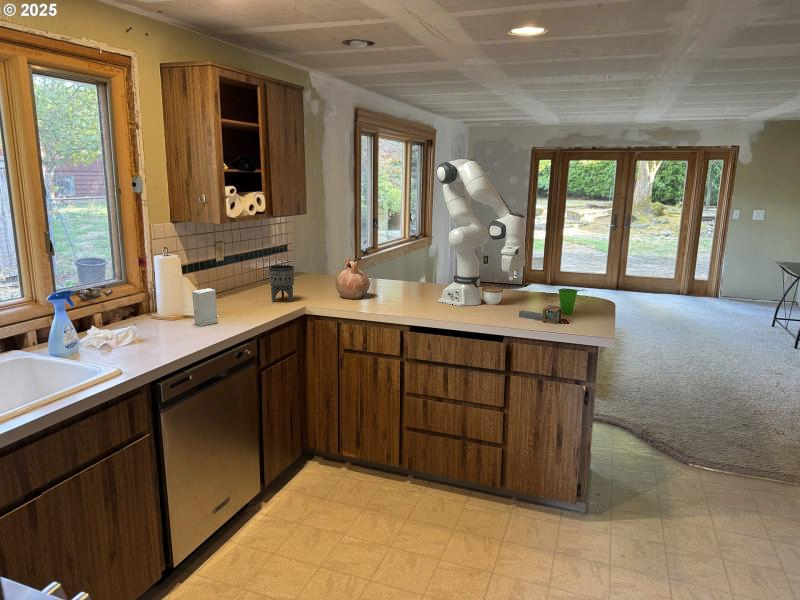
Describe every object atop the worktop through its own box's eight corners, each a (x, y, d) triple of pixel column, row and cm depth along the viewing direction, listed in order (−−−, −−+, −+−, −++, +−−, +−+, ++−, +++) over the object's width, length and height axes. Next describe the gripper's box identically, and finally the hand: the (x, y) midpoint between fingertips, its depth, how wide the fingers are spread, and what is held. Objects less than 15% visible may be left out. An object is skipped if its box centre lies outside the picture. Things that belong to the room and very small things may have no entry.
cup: (561, 310, 274) (562, 287, 272) (579, 312, 269) (581, 290, 266) (553, 313, 268) (554, 290, 265) (571, 316, 262) (573, 293, 260)
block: (547, 321, 252) (547, 312, 251) (549, 320, 255) (550, 310, 254) (555, 323, 250) (556, 313, 249) (558, 321, 253) (559, 311, 252)
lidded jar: (497, 306, 281) (498, 288, 279) (477, 304, 286) (478, 285, 284) (505, 302, 290) (506, 284, 288) (486, 300, 295) (487, 282, 293)
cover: (542, 322, 251) (543, 308, 250) (548, 318, 258) (548, 305, 257) (555, 324, 248) (556, 310, 247) (561, 320, 255) (562, 306, 253)
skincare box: (211, 320, 250) (209, 287, 247) (218, 323, 246) (216, 289, 243) (193, 324, 244) (191, 290, 241) (200, 326, 240) (198, 292, 237)
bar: (518, 317, 260) (519, 311, 260) (521, 316, 263) (522, 310, 262) (545, 322, 252) (545, 315, 252) (548, 321, 255) (548, 314, 254)
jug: (374, 299, 296) (374, 261, 292) (341, 301, 290) (340, 263, 285) (363, 292, 313) (363, 256, 309) (332, 294, 306) (331, 258, 302)
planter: (277, 304, 282) (275, 269, 278) (265, 300, 292) (263, 266, 288) (300, 301, 290) (299, 267, 286) (287, 297, 300) (286, 264, 296)
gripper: (516, 246, 267) (515, 275, 270) (499, 250, 250) (498, 281, 253) (529, 247, 263) (527, 276, 266) (513, 252, 246) (511, 283, 249)
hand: (513, 279), depth 259 cm, fingers open, 3 cm apart
